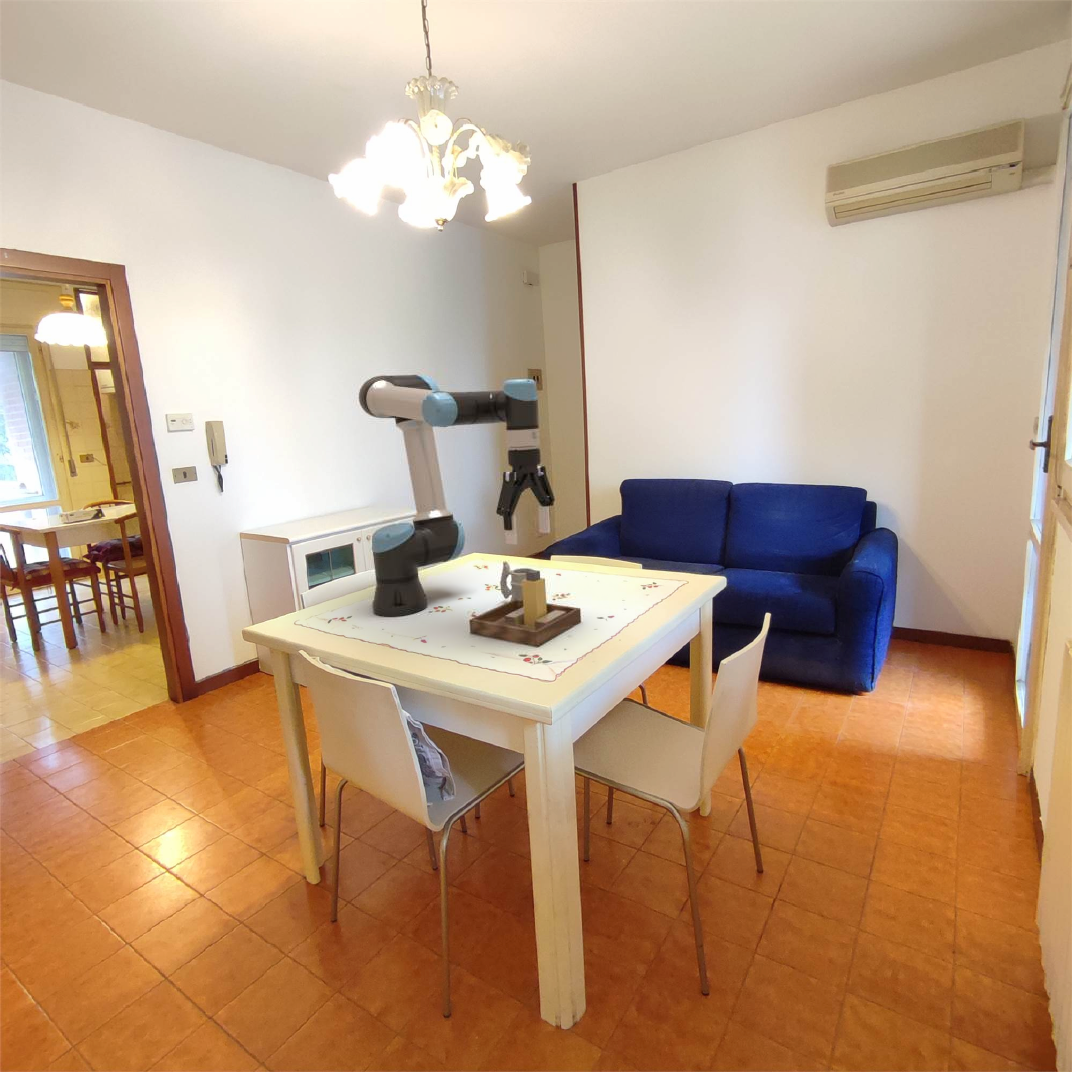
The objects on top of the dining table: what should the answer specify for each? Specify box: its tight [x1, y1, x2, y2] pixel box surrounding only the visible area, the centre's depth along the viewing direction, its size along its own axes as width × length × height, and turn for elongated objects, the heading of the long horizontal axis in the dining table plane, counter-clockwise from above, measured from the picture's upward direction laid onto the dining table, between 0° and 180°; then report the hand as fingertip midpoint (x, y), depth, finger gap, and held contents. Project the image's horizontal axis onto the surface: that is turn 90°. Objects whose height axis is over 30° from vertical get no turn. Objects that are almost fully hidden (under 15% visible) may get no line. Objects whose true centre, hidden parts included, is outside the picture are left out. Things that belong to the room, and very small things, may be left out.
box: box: [469, 599, 582, 648], centre depth 153 cm, size 20×19×4 cm
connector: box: [522, 569, 547, 627], centre depth 150 cm, size 4×4×14 cm
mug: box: [499, 560, 534, 601], centre depth 172 cm, size 8×12×12 cm, turn 55°
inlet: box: [505, 607, 566, 630], centre depth 152 cm, size 12×9×3 cm
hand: (528, 538), depth 148 cm, fingers open, 13 cm apart
